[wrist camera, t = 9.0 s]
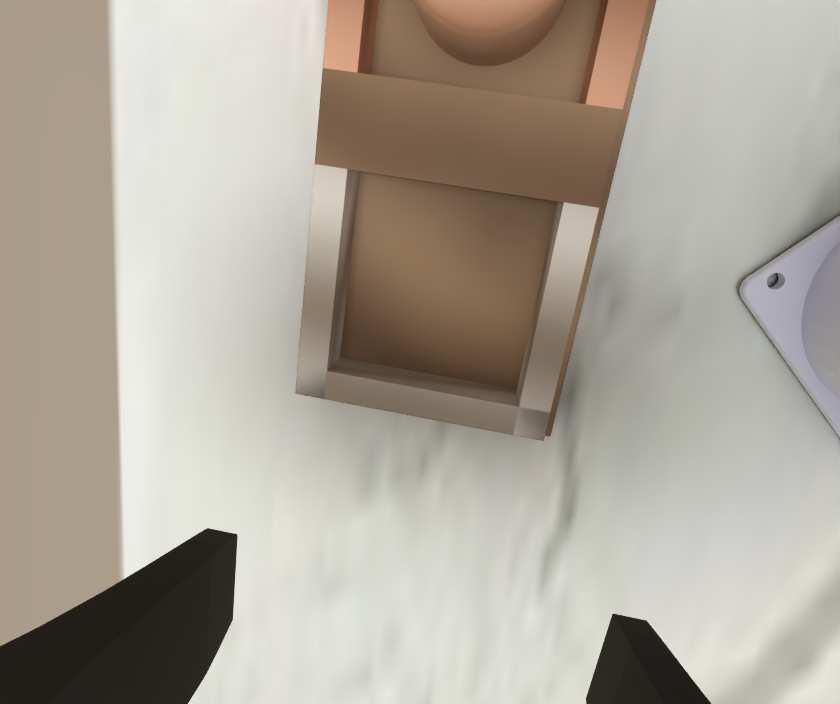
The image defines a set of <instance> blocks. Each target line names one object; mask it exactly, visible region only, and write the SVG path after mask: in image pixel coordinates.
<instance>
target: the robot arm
mask: <svg viewBox="0 0 840 704" xmlns="http://www.w3.org/2000/svg"><path fill="white" fill-rule="evenodd" d="M774 273H777V274H778V277H779V279H778V282H777V283H776V284H775V285H774V286H772V287H770V288H769V287H768V285H767V280H768V277H769V276H770V275H771V274H774ZM739 294H740V296H741V298H742V300H743V301H744V303H745V304H746V306H747V307H748V308H749V310H750V311H751V313H752V314H753V316H754V317H755V318H756V320H757V321H758V323H759V324H760V325H761V327H762V328H763V330H764V331H765V333H766V334H767V335H768V337H769V338H770V340H771V341H772V342H773V344H774V345H775V347H776V348H777V350H778V351H779V352H780V354H781V355H782V357H783V358H784V359H785V361H786V362H787V364H788V365H789V367H790V368H791V369H792V371H793V372H794V374H795V375H796V376H797V378H798V379H799V381H800V382H801V384H802V385H803V386H804V388H805V389H806V391H807V392H808V393H809V395H810V396H811V398H812V399H813V401H814V402H815V403H816V405H817V406H818V408H819V409H820V410H821V412H822V413H823V415H824V416H825V418H826V419H827V420H828V422H829V423H830V425H831V426H832V427H833V429H834V430H835V432H836V433H837V435H838V436H839V437H840V216H838V217H837V218H835V219H834V220H832V221H831V222H829V223H828V224H826V225H825V226H823V227H822V228H820V229H819V230H817V231H816V232H814V233H813V234H811V235H810V236H808V237H807V238H805V239H804V240H802V241H801V242H799V243H798V244H796V245H795V246H793V247H792V248H790V249H789V250H787V251H786V252H784V253H783V254H781V255H780V256H778V257H777V258H775V259H774V260H772V261H771V262H769V263H768V264H766V265H765V266H763V267H762V268H760V269H759V270H757V271H756V272H754V273H753V274H751V275H750V276H748V277H747V278H746V279H745V280H744V281H743V282H742V284H741V286H740V291H739ZM236 551H237V534H233V533H228V532H223V531H218V530H214V529H209V528H207V529H206V530H204V531H202V532H200V533H199V534H197V535H195V536H194V537H192V538H190V539H189V540H187V541H186V542H184V543H182V544H181V545H179V546H178V547H176V548H174V549H173V550H171V551H170V552H168V553H166V554H165V555H163V556H161V557H160V558H158V559H157V560H155V561H153V562H152V563H150V564H148V565H147V566H145V567H144V568H142V569H140V570H139V571H137V572H135V573H134V574H132V575H130V576H129V577H127V578H125V579H124V580H122V581H120V582H119V583H117V584H115V585H114V586H112V587H110V588H109V589H107V590H105V591H104V592H102V593H100V594H98V595H96V596H95V597H93V598H91V599H89V600H87V601H85V602H83V603H82V604H80V605H78V606H77V607H74V608H73V609H71V610H69V611H67V612H65V613H64V614H62V615H60V616H58V617H56V618H55V619H53V620H51V621H49V622H47V623H45V624H44V625H42V626H40V627H38V628H36V629H34V630H32V631H30V632H28V633H26V634H24V635H22V636H20V637H18V638H16V639H14V640H12V641H10V642H8V643H6V644H4V645H2V646H0V704H188V702H189V701H190V699H191V698H192V696H193V694H194V693H195V691H196V690H197V688H198V686H199V685H200V683H201V682H202V680H203V678H204V677H205V675H206V673H207V671H208V669H209V667H210V665H211V663H212V661H213V659H214V657H215V655H216V653H217V651H218V649H219V647H220V645H221V643H222V641H223V639H224V637H225V635H226V633H227V630H228V628H229V626H230V624H231V622H232V620H233V605H234V587H235V569H236ZM586 703H587V704H711V703H710V702H709V700H708V699H707V698H706V696H705V695H704V694H703V693H702V691H701V690H700V689H699V688H698V686H697V685H696V684H695V682H694V681H693V680H692V678H691V677H690V676H689V675H688V673H687V672H686V671H685V669H684V668H683V667H682V666H681V664H680V663H679V662H678V660H677V659H676V658H675V656H674V655H673V654H672V653H671V651H670V650H669V649H668V647H667V646H666V645H665V643H664V642H663V641H662V640H661V638H660V637H659V636H658V634H657V633H656V632H655V631H654V629H653V628H652V627H651V626H650V624H649V623H648V622H647V621H645V620H641V619H636V618H631V617H626V616H622V615H617V614H612V618H611V621H610V624H609V627H608V630H607V634H606V637H605V640H604V643H603V646H602V649H601V653H600V656H599V659H598V662H597V665H596V669H595V672H594V675H593V678H592V681H591V684H590V688H589V691H588V694H587V697H586Z"/></svg>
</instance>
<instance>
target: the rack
mask: <svg viewBox="0 0 840 704" xmlns="http://www.w3.org/2000/svg"><path fill="white" fill-rule="evenodd" d="M655 3H656V0H565V2H564V4H563V7H562V9H561V12H560V14H559V16H558V18H557V20H556V22H555V23H554V25H553V27H552V28H551V30H550V31H549V32H548V34H547V35H546V36H545V38H544V39H543V40H542V41H541V42H540V43H539V44H538V45H537V46H536V47H534V48H533V49H532V50H531V51H529V52H528V53H527V54H525V55H523V56H522V57H520V58H518V59H516V60H514V61H511V62H509V63H505V64H502V65H496V66H475V65H470V64H467V63H463V62H461V61H459V60H457V59H454V58H453V57H451V56H450V55H448V54H447V53H445V52H444V51H443V50H442V49H441V48H440V47H439V46H438V45H437V44H436V43H435V42H434V41H433V40H432V38H431V37H430V35H429V34H428V32H427V31H426V29H425V26H424V24H423V22H422V20H421V18H420V15H419V13H418V10H417V8H416V5H415V3H414V0H329V2H328V14H327V26H326V37H325V49H324V61H323V73H322V85H321V97H320V108H319V120H318V132H317V144H316V156H315V167H314V179H313V191H312V203H311V215H310V226H309V238H308V250H307V262H306V274H305V286H304V297H303V309H302V321H301V333H300V345H299V356H298V368H297V380H296V392H295V393H296V394H301V395H306V396H312V397H317V398H322V399H327V400H333V401H338V402H343V403H348V404H354V405H359V406H364V407H369V408H375V409H380V410H385V411H390V412H396V413H401V414H406V415H411V416H417V417H422V418H427V419H432V420H438V421H443V422H448V423H453V424H459V425H464V426H469V427H474V428H480V429H485V430H490V431H495V432H501V433H506V434H511V435H516V436H522V437H527V438H532V439H537V440H543V441H544V436H550V435H551V431H552V427H553V423H554V419H555V415H556V411H557V407H558V402H559V398H560V394H561V390H562V386H563V382H564V378H565V374H566V369H567V365H568V361H569V357H570V353H571V349H572V345H573V341H574V337H575V332H576V328H577V324H578V320H579V316H580V312H581V308H582V304H583V299H584V295H585V291H586V287H587V283H588V279H589V275H590V271H591V267H592V262H593V258H594V254H595V250H596V246H597V242H598V238H599V234H600V229H601V225H602V221H603V217H604V213H605V209H606V205H607V201H608V197H609V192H610V188H611V184H612V180H613V176H614V172H615V168H616V164H617V159H618V155H619V151H620V147H621V143H622V139H623V135H624V131H625V127H626V122H627V118H628V114H629V110H630V106H631V102H632V98H633V94H634V89H635V85H636V81H637V77H638V73H639V69H640V65H641V61H642V57H643V52H644V48H645V44H646V40H647V36H648V32H649V28H650V24H651V19H652V15H653V11H654V7H655Z"/></svg>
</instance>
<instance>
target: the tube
mask: <svg viewBox="0 0 840 704" xmlns="http://www.w3.org/2000/svg"><path fill="white" fill-rule="evenodd" d="M564 2H565V0H414V3H415V5H416V8H417V10H418V13H419V15H420V18H421V20H422V22H423V24H424V26H425V29H426V31H427V32H428V34H429V35H430V37H431V38H432V40H433V41H434V42H435V43H436V44H437V45H438V46H439V47H440V48H441V49H442V50H443V51H444V52H445V53H447V54H448V55H450V56H451V57H453V58H454V59H457V60H459V61H461V62H463V63H467V64H470V65H475V66H496V65H502V64H505V63H509V62H511V61H514V60H516V59H518V58H520V57H522V56H523V55H525V54H527V53H528V52H529V51H531V50H532V49H533V48H534V47H536V46H537V45H538V44H539V43H540V42H541V41H542V40H543V39H544V38H545V36H546V35H547V34H548V32H549V31H550V30H551V28H552V27H553V25H554V23H555V22H556V20H557V18H558V16H559V14H560V12H561V9H562V7H563V4H564Z"/></svg>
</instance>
